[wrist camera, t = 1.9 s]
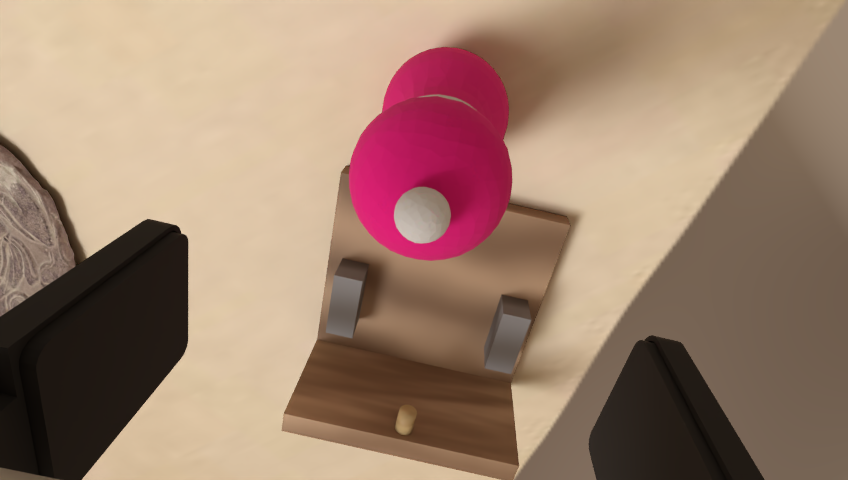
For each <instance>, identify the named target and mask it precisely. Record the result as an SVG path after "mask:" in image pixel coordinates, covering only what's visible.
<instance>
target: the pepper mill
mask: <svg viewBox="0 0 848 480" xmlns="http://www.w3.org/2000/svg"><path fill="white" fill-rule="evenodd" d="M508 115H509V106H508V98H507V94H506V90H505V87H504V85H503V83H502V81H501V79H500V77H499V76H498V74H497V73H496V72H495V70H494V69H493V68H492V67H491V66H490V65H489V64H488V63H487V62H486V61H485V60H483V59H482V58H480V57H479V56H477V55H476V54H473V53H471V52H469V51H466V50H462V49H458V48H449V47H441V48H435V49H429V50H427V51H424V52H421V53H419V54H417V55H416V56H414V57H412V58H411V59H409V60H408V61H407V62H406V63H404V64H403V65H402V66H401V68H400V69H399V70H398V71H397V72H396V74H395V75H394V77H393V78H392V80H391V82H390V84H389V86H388V89H387V91H386V95H385V98H384V103H383V109H382V113H381V114H379V115H378V116H377V117H376V118H375V119H374V120H373V121H372V122H371V123H370V124H369V125H368V126H367V127H366V129H365V130H364V132H363V133H362V134H361V136H360V138H359V140H358V142H357V145H356V147H355V149H354V152H353V155H352V158H351V163H350V169H349V189H350V194H351V199H352V204H353V207H354V209H355V211H356V214H357V216H358V218H359V220H360V222H361V223H362V224H363V226H364V227H365V229H366V230H367V231H368V233H369V234H370V235H371V236H372V237H373V238H374V239H375V240H376V241H377V242H379V243H380V244H381V245H383V246H384V247H386V248H387V249H389V250H390V251H392V252H395V253H397V254H400V255H402V256H405V257H409V258H413V259H417V260H427V261H434V260H445V259H449V258H453V257H457V256H460V255H462V254H464V253H466V252H468V251H470V250H472V249H474V248H475V247H477V246H478V245H479V244H480V243H482V242H483V241H484V240H485V239H486V238H488V237H489V236H490V235H491V233H492V232H493V231H494V230H495V228H496V227H497V226H498V225H499V223H500V221H501V219H502V217H503V215H504V213H505V211H506V209H507V206H508V203H509V199H510V196H511V188H512V167H511V163H510V158H509V154H508V149H507V147H506V145H505V143H504V141H503V139H504V135H505V132H506V128H507V125H508Z"/></svg>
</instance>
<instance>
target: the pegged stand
mask: <svg viewBox="0 0 848 480" xmlns="http://www.w3.org/2000/svg"><path fill="white" fill-rule="evenodd" d="M349 169H350V167H349V166H346V167H345V168H344V169H343V171H342V172H341V177H340V184H339V191H338V198H337V205H336V212H335V219H334V226H333V233H332V240H331V247H330V254H329V261H328V268H327V275H326V282H325V289H324V296H323V303H322V310H321V317H320V324H319V331H318V338H317V341H316V343H315V346H314V348H313V350H312V352H311V354H310V357H309V359H308V361H307V363H306V366H305V368H304V370H303V372H302V374H301V377H300V379H299V381H298V383H297V386H296V388H295V390H294V392H293V394H292V397H291V399H290V401H289V403H288V405H287V408H286V410H285V412H284V416H283V425H282V431H285V432H290V433H294V434H299V435H303V436H308V437H312V438H317V439H321V440H326V441H330V442H335V443H339V444H344V445H348V446H353V447H357V448H362V449H366V450H371V451H375V452H380V453H384V454H389V455H393V456H398V457H402V458H407V459H411V460H416V461H420V462H425V463H429V464H434V465H438V466H443V467H447V468H452V469H456V470H461V471H465V472H470V473H474V474H479V475H483V476H488V477H492V478H497V479H501V480H513V479H514V476H515V474H516V472H517V469H518V467H519V462H518V451H517V441H516V431H515V421H514V411H513V401H512V390H511V381H512V379H513V376H514V373H515V371H516V368H517V365H518V363H519V360H520V357H521V355H522V352H523V350H524V347H525V344H526V342H527V339H528V336H529V334H530V331H531V328H532V326H533V323H534V321H535V318H536V315H537V313H538V310H539V307H540V305H541V302H542V299H543V297H544V294H545V292H546V289H547V286H548V284H549V281H550V278H551V276H552V273H553V270H554V268H555V265H556V263H557V260H558V257H559V255H560V252H561V249H562V247H563V244H564V241H565V239H566V236H567V234H568V231H569V228H570V226H571V225H570V223H569V221H568V218H567V217H565V216H561V215H557V214H552V213H548V212H544V211H539V210H535V209H531V208H526V207H522V206H518V205H513V204H509V203H508V206H507V209H506V211H505V213H504V215H503V217H502V219H501V221H500V223H499V225H498V226H497V227H496V228H495V230H494V231H493V232H492V233H491V235H490V236H489V237H488V238H486V239H485V240H484V241H483V242H482V243H480V244H479V245H478V246H477V247H475V248H474V249H472V250H470V251H468V252H466V253H464V254H462V255H460V256H457V257H453V258H449V259H445V260H434V261H427V260H417V259H413V258H409V257H405V256H402V255H400V254H397V253H395V252H392V251H390V250H389V249H387V248H386V247H384V246H383V245H381V244H380V243H379V242H377V241H376V240H375V239H374V238H373V237H372V236H371V235H370V234H369V233H368V231H367V230H366V229H365V227H364V226H363V224H362V223H361V222H360V220H359V218H358V216H357V214H356V211H355V209H354V207H353V204H352V199H351V194H350V189H349Z"/></svg>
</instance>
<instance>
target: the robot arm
mask: <svg viewBox="0 0 848 480" xmlns="http://www.w3.org/2000/svg"><path fill="white" fill-rule="evenodd" d="M187 343H188V238H187V236H186V235H184V234H181V231H180V228H179V227H178V226H177V225H172V224H168V223H164V222H159V221H155V220H150V219H147V220H145V221H143V222H141V223H140V224H138V225H137V226H135V227H134V228H132V229H131V230H129V231H128V232H126V233H125V234H123V235H122V236H120V237H119V238H117V239H116V240H114V241H113V242H111V243H110V244H108V245H107V246H105V247H104V248H102V249H101V250H99V251H98V252H96V253H95V254H93V255H92V256H90V257H89V258H87V259H86V260H84V261H83V262H81V263H80V264H78V265H77V266H75V267H74V268H72V269H71V270H69V271H68V272H66V273H65V274H63V275H62V276H60V277H59V278H57V279H56V280H54V281H53V282H51V283H50V284H48V285H47V286H45V287H44V288H42V289H41V290H39V291H38V292H36V293H35V294H33V295H32V296H30V297H29V298H27V299H26V300H24V301H23V302H21V303H20V304H18V305H17V306H15V307H14V308H12V309H11V310H9V311H8V312H6V313H5V314H3V315H2V316H0V480H82V479H83V477H84V476H85V475H86V474H87V472H88V471H89V470H90V469H91V468H92V466H93V465H94V464H95V463H96V461H97V460H98V459H99V458H100V457H101V455H102V454H103V453H104V452H105V450H106V449H107V448H108V447H109V446H110V444H111V443H112V442H113V441H114V439H115V438H116V437H117V436H118V435H119V433H120V432H121V431H122V430H123V428H124V427H125V426H126V425H127V424H128V422H129V421H130V420H131V419H132V418H133V416H134V415H135V414H136V413H137V411H138V410H139V409H140V408H141V407H142V405H143V404H144V403H145V402H146V400H147V399H148V398H149V397H150V396H151V394H152V393H153V392H154V391H155V389H156V388H157V387H158V386H159V385H160V383H161V382H162V381H163V380H164V378H165V377H166V376H167V375H168V374H169V372H170V371H171V370H172V369H173V367H174V366H175V365H176V364H177V363H178V361H179V360H180V359H181V358H182V356H183V354H184V352H185V350H186V347H187ZM589 451H590V455H591V460H592V463H593V467H594V471H595V475H596V479H597V480H764V478H763V476H762V475H761V473H760V471H759V470H758V468H757V466H756V465H755V463H754V461H753V460H752V458H751V456H750V455H749V453H748V452H747V450H746V448H745V447H744V445H743V443H742V442H741V440H740V438H739V437H738V435H737V433H736V432H735V430H734V428H733V427H732V425H731V423H730V422H729V420H728V418H727V417H726V415H725V413H724V412H723V410H722V409H721V407H720V405H719V404H718V402H717V400H716V399H715V397H714V395H713V394H712V392H711V390H710V389H709V387H708V385H707V384H706V382H705V380H704V379H703V377H702V375H701V374H700V372H699V370H698V369H697V367H696V365H695V364H694V362H693V360H692V359H691V357H690V356H689V354H688V352H687V351H686V349H685V347H684V346H683V344H682V343H681V342H678V341H674V340H670V339H665V338H661V337H656V336H649V337H647V338H646V339H645V341H643V340H640V341H638V342H637V343H636V344H635V346H634V348H633V350H632V352H631V353H630V355H629V357H628V360H627V361H626V364H625V365H624V367H623V369H622V372H621V374H620V375H619V377H618V379H617V381H616V384H615V386H614V388H613V390H612V392H611V394H610V396H609V398H608V400H607V402H606V404H605V406H604V408H603V410H602V412H601V414H600V416H599V418H598V420H597V422H596V424H595V426H594V428H593V430H592V432H591V435H590V438H589Z"/></svg>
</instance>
